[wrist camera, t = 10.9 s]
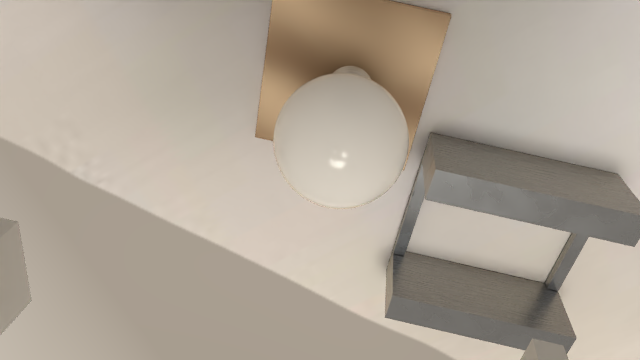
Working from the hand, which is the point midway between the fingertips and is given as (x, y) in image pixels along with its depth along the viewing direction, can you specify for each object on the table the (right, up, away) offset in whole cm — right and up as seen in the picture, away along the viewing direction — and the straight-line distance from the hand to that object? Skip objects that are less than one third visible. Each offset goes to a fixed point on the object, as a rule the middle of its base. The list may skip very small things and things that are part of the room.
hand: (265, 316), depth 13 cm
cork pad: (+3, +10, +18) cm, 21 cm away
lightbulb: (+3, +9, +18) cm, 20 cm away
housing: (+13, 0, +22) cm, 25 cm away
